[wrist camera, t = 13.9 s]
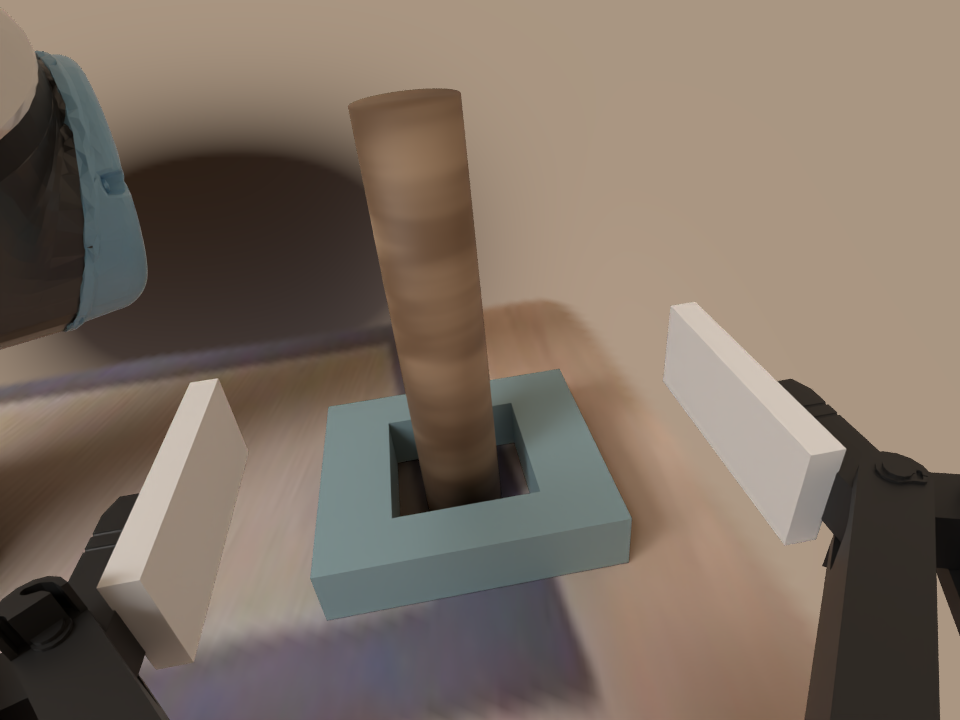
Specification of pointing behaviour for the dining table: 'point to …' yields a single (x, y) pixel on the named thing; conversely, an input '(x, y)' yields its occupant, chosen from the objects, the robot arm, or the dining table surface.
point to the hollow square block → (463, 529)
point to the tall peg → (432, 283)
